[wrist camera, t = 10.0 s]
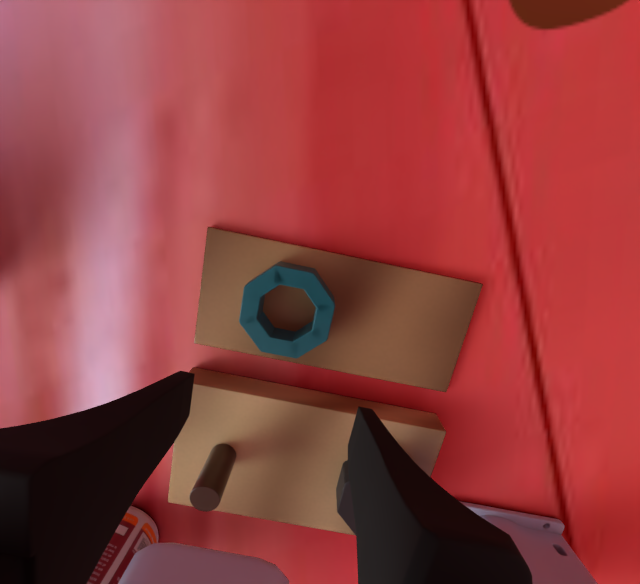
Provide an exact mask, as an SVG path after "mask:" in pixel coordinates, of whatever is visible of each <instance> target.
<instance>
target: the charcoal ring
mask: <svg viewBox="0 0 640 584" xmlns="http://www.w3.org/2000/svg"><path fill="white" fill-rule="evenodd" d="M336 499H337V513H338V514H339V515H340V516H341V518H342V519H343V520H344V521H345V523H346V524H347V525H348V526H349V528H350V529H351V530H352V531H353V533H354V534H355V535H356V526H355V518H354V510H353V503H352V496H351V489H350V481H349V473H348V460H347V461H345V462H344V463H343V465H342V468H341V472H340V476H339V480H338V483H337V487H336Z"/></svg>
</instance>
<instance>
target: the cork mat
mask: <svg viewBox="0 0 640 584" xmlns="http://www.w3.org/2000/svg"><path fill="white" fill-rule="evenodd" d="M280 261H282V262H287V263H291V264H296V265H301V266H306V267H311V268H315V269H316V270H317V272H318V273H319V275H320V276H321V278H322V279H323V281H324V282H325V284H326V285H327V287H328V288H329V290H330V291H331V293H332V294H333V296H334V299H335V310H334V314H333V319H332V323H331V327H330V332H329V336H328V339H327V341H325V342H323V343H322V344H320V345H319V346H317V347H315V348H314V349H312V350H310V351H309V352H307V353H305V354H304V355H302V356H300V357H299V358H291V357H286V356H281V355H275V354H270V353H265V352H261V351H260V350H259V348H258V347H257V346H256V344H255V343H254V342H253V340H252V339H251V338H250V336H249V335H248V334H247V332H246V331H245V330H244V328H243V327H242V326H241V325H240V323H239V316H240V310H241V303H242V297H243V290H244V287H245V285H246V284H247V283H248V282H250V281H251V280H252V279H254V278H255V277H257V276H258V275H260V274H261V273H263V272H264V271H266V270H267V269H269V268H270V267H272V266H273V265H275V264H276V263H278V262H280ZM482 285H483V284H481V283H477V282H472V281H467V280H462V279H458V278H453V277H448V276H443V275H438V274H434V273H429V272H424V271H419V270H414V269H410V268H405V267H400V266H395V265H391V264H386V263H381V262H376V261H371V260H367V259H362V258H357V257H352V256H347V255H343V254H338V253H333V252H328V251H323V250H319V249H314V248H309V247H304V246H299V245H295V244H290V243H285V242H280V241H275V240H271V239H266V238H261V237H256V236H252V235H247V234H242V233H237V232H232V231H228V230H223V229H218V228H213V227H208V230H207V238H206V247H205V255H204V264H203V272H202V281H201V289H200V298H199V307H198V315H197V324H196V332H195V341H194V343H196V344H201V345H207V346H212V347H217V348H222V349H227V350H232V351H237V352H242V353H248V354H253V355H258V356H263V357H268V358H273V359H278V360H283V361H289V362H294V363H299V364H304V365H309V366H314V367H319V368H325V369H330V370H335V371H340V372H345V373H350V374H355V375H360V376H366V377H371V378H376V379H381V380H386V381H391V382H396V383H402V384H407V385H412V386H417V387H422V388H427V389H432V390H437V391H443V392H446V391H447V389H448V386H449V383H450V380H451V377H452V374H453V371H454V368H455V365H456V362H457V359H458V356H459V353H460V350H461V347H462V344H463V341H464V338H465V336H466V333H467V330H468V327H469V324H470V321H471V318H472V315H473V312H474V309H475V306H476V303H477V300H478V297H479V294H480V291H481V288H482ZM315 308H316V307H315V305H314V304H313V302H312V301H311V300H310V298H309V297H308V295H307V294H306V292H305V291H304V289H300V288H295V287H290V286H285V285H279V286H277V287H275V288H274V289H272V290H271V291H269V292H268V293H266V294H265V300H264V305H263V312H264V314H265V315H266V316H267V318H268V319H269V320H270V322H271V323H272V325H273V326H274V327H275V328H280V329H285V330H290V331H295V332H296V331H297V330H299V329H300V328H302V327H304V326H305V325H307V324H308V323H310V322H312V321H313V317H314V313H315Z"/></svg>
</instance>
